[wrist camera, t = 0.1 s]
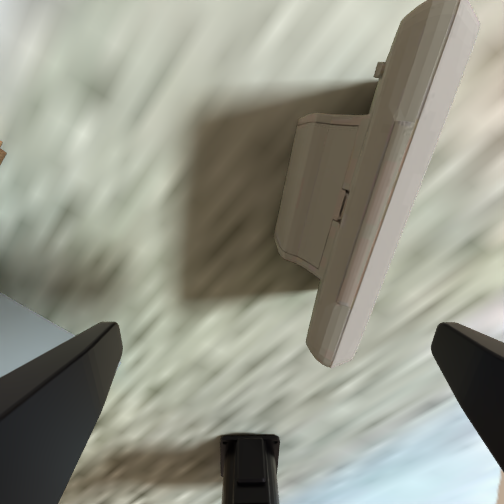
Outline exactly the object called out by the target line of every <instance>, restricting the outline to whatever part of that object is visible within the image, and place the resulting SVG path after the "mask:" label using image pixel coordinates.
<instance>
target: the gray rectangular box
mask: <svg viewBox="0 0 504 504" xmlns="http://www.w3.org/2000/svg"><path fill="white" fill-rule="evenodd" d="M74 336H75V335H74V334H72V333H70V332H68V331H67V330H65V329H63V328H61V327H60V326H58V325H56V324H55V323H53V322H51V321H49V320H48V319H46V318H44V317H42V316H41V315H39V314H37V313H35V312H34V311H32V310H30V309H29V308H27V307H25V306H23V305H22V304H20V303H18V302H16V301H15V300H13V299H11V298H9V297H8V296H6V295H4V294H3V293H1V292H0V377H2V376H4V375H6V374H7V373H9V372H11V371H13V370H15V369H17V368H18V367H20V366H22V365H24V364H26V363H27V362H29V361H31V360H33V359H35V358H36V357H38V356H40V355H42V354H44V353H45V352H47V351H49V350H51V349H53V348H55V347H56V346H58V345H60V344H62V343H64V342H65V341H67V340H69V339H71V338H73V337H74ZM120 364H121V362H120V361H119V364H118V367H119V366H120ZM118 367H117V369H118ZM116 371H117V370H116Z"/></svg>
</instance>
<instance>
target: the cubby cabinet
mask: <svg viewBox="0 0 504 504" xmlns="http://www.w3.org/2000/svg"><path fill="white" fill-rule="evenodd" d="M2 143H3V142H2V141H0V147H1V145H2ZM6 154H7V153H6V152H4V151H3V150H2V149H0V165H1V163H2V161H3V159H4V157H5V156H6Z"/></svg>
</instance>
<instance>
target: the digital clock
mask: <svg viewBox="0 0 504 504" xmlns="http://www.w3.org/2000/svg"><path fill="white" fill-rule="evenodd" d="M479 29H480V21H479V19H478V17H477V15H476V13H475V11H474V9H473V7H472V5H471V3H470V2H469V0H427V1H425V2H424V3H422V4H420V5H419V6H417V7H416V8H415V9H414V10H412V11H411V12H410V13H409V14H408V15H406V16H405V17H404V18H403V20H402V21H401V23H400V25H399V28H398V30H397V33H396V36H395V38H394V41H393V43H392V46H391V49H390V52H389V54H388V57H387V60H386V62H378V64H377V67H376V71H375V74H374V77H375V78H379V81H378V84H377V87H376V90H375V94H374V97H373V101H372V104H371V107H370V111H369V114H368V115H337V114H326V113H311V114H308V115H306V116H304V117H301V118H299V119H298V123H297V128H296V133H295V138H294V142H293V147H292V152H291V157H290V161H289V166H288V171H287V175H286V180H285V185H284V190H283V194H282V199H281V204H280V209H279V213H278V218H277V223H276V228H275V232H274V239H275V243H276V246H277V249H278V252H279V254H280V256H281V257H282V258H284V259H286V260H288V261H291V262H294V263H296V264H298V265H300V266H302V267H303V268H305V269H306V270H308V271H309V272H311V273H312V274H314V275H315V276H316V277H318V278H319V279H320V283H319V287H318V291H317V296H316V300H315V304H314V308H313V312H312V317H311V321H310V325H309V329H308V334H307V338H306V344H307V346H308V348H309V350H310V352H311V353H312V354H313V356H314V357H315V359H316V360H317V361H319V362H320V363H321V364H323V365H325V366H327V367H330V368H333V367H335V366H338V365H341V364H343V363H346V362H348V361H351V360H352V359H353V358H354V355H355V353H356V351H357V348H358V346H359V343H360V341H361V338H362V336H363V333H364V331H365V328H366V326H367V323H368V321H369V318H370V315H371V313H372V310H373V308H374V305H375V302H376V300H377V297H378V295H379V292H380V289H381V287H382V284H383V282H384V279H385V277H386V274H387V271H388V269H389V266H390V264H391V261H392V258H393V256H394V253H395V251H396V248H397V245H398V243H399V240H400V238H401V235H402V233H403V230H404V227H405V225H406V222H407V220H408V217H409V214H410V212H411V209H412V207H413V204H414V201H415V199H416V196H417V194H418V191H419V188H420V186H421V183H422V181H423V178H424V176H425V173H426V170H427V168H428V165H429V163H430V160H431V157H432V155H433V152H434V150H435V147H436V144H437V142H438V139H439V137H440V134H441V131H442V129H443V126H444V124H445V121H446V119H447V116H448V113H449V111H450V108H451V106H452V103H453V100H454V98H455V95H456V93H457V90H458V87H459V85H460V82H461V79H462V77H463V74H464V71H465V69H466V66H467V63H468V61H469V58H470V55H471V53H472V50H473V47H474V45H475V42H476V39H477V36H478V33H479ZM367 132H368V133H367ZM366 133H367V134H366ZM364 140H365V143H364ZM361 150H362V153H361Z"/></svg>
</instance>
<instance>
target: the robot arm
mask: <svg viewBox="0 0 504 504" xmlns="http://www.w3.org/2000/svg"><path fill="white" fill-rule="evenodd" d="M122 351H123V345H122V340H121V334H120V329H119V325H118V323H116V322H100V323H98V324H96V325H94V326H93V327H91V328H89V329H87V330H85V331H84V332H82V333H80V334H78V335H76V336H74V337H73V338H71V339H69V340H67V341H65V342H64V343H62V344H60V345H58V346H56V347H55V348H53V349H51V350H49V351H47V352H45V353H44V354H42V355H40V356H38V357H36V358H35V359H33V360H31V361H29V362H27V363H26V364H24V365H22V366H20V367H18V368H17V369H15V370H13V371H11V372H9V373H7V374H6V375H4V376H2V377H0V504H58V503H59V501H60V498H61V496H62V494H63V492H64V490H65V488H66V486H67V484H68V482H69V479H70V477H71V475H72V473H73V471H74V469H75V467H76V465H77V463H78V460H79V458H80V456H81V454H82V452H83V450H84V448H85V446H86V443H87V441H88V439H89V437H90V435H91V433H92V431H93V429H94V427H95V424H96V422H97V420H98V418H99V416H100V413H101V411H102V409H103V406H104V404H105V401H106V398H107V395H108V393H109V390H110V387H111V384H112V381H113V378H114V376H115V373H116V370H117V367H118V364H119V361H120V359H121V356H122ZM431 351H432V354H433V356H434V358H435V360H436V362H437V364H438V366H439V368H440V369H441V371H442V373H443V375H444V377H445V379H446V380H447V382H448V384H449V386H450V388H451V390H452V392H453V393H454V395H455V397H456V399H457V401H458V402H459V404H460V406H461V408H462V409H463V411H464V412H465V414H466V416H467V417H468V419H469V420H470V422H471V423H472V425H473V426H474V428H475V429H476V431H477V432H478V434H479V435H480V437H481V439H482V440H483V442H484V443H485V445H486V446H487V448H488V449H489V451H490V452H491V454H492V455H493V457H494V458H495V460H496V461H497V463H498V464H499V466H500V467H501V469H502V471H503V472H504V343H503V342H501V341H498V340H496V339H494V338H491V337H489V336H487V335H484V334H482V333H480V332H477V331H475V330H473V329H470V328H468V327H466V326H463V325H461V324H459V323H455V322H442V323H440V324H439V325H438V326H437V329H436V332H435V335H434V338H433V341H432V344H431ZM279 446H280V440H279V437H278V436H223V437H222V438H221V442H220V447H221V476H222V477H223V490H222V504H279V495H278V485H277V467H278V456H279Z"/></svg>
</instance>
